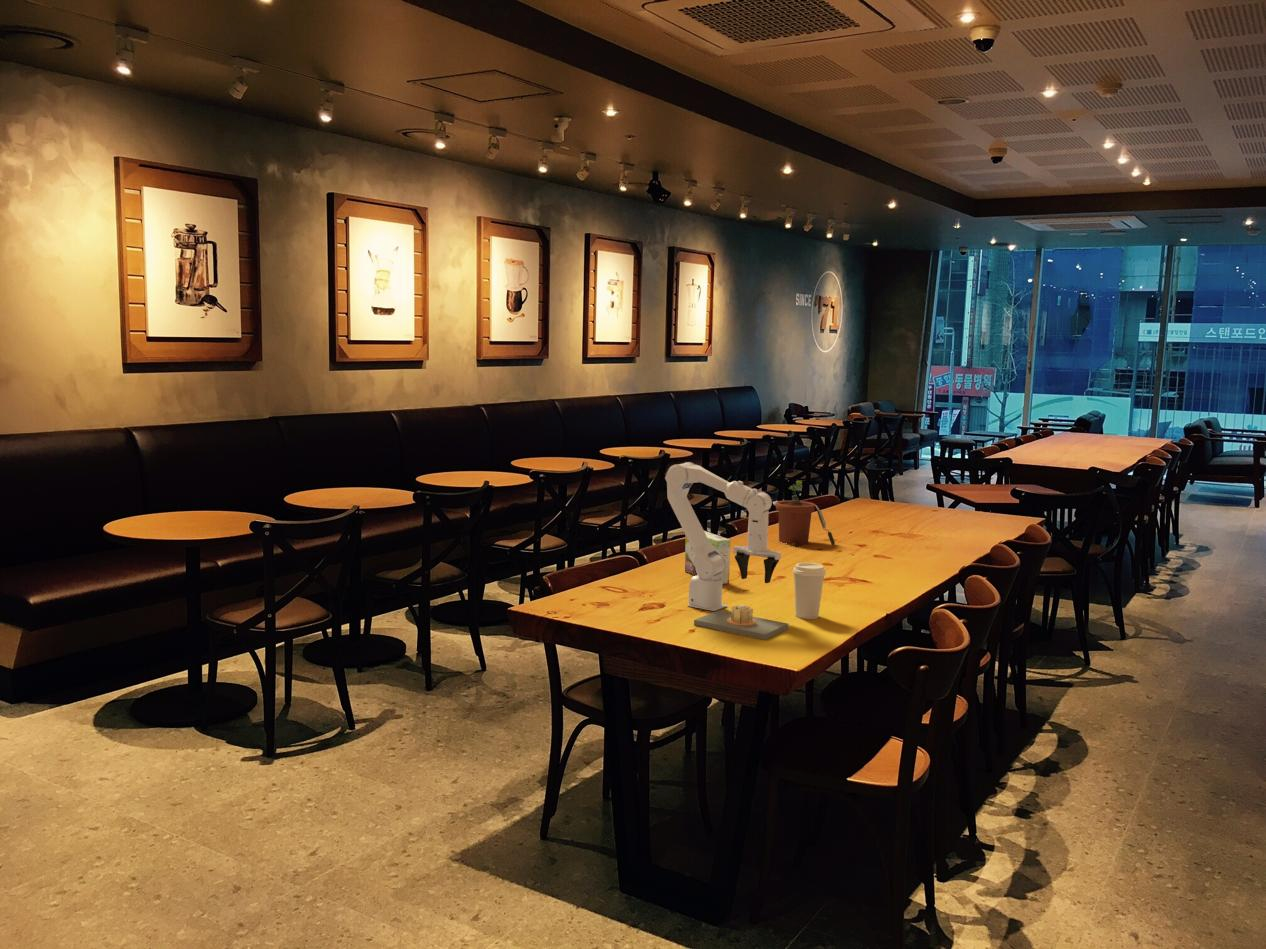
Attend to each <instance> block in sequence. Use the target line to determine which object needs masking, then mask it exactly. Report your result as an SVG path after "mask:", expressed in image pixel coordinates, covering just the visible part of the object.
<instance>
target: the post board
mask: <svg viewBox="0 0 1266 949" xmlns="http://www.w3.org/2000/svg"><path fill="white" fill-rule="evenodd" d="M738 606H739V610H745V606H746V605H743V604H739V605H738ZM693 625H694V626H696V627H701V628H706V629H711V630H716V631H720V632H725V633H730V634H735V635H739V636H744V637H749V638H754V639H759V640H763V641H765V640H767V639H769V638H772V637H773V636H776V635H779V634H780V633H783V632H785V631H787V630H789V623H786V622H783V621H778V620H772V619H768V618H761V617H756V616H753V619H752V622H751V623H748V624H741V623H740V624H739V623H734V622H732V621H731V611H728V610H721V609H719V610H716V611H712V612H711V613H709V614H705V615H703V616H701V617H698V618H695V619H694V620H693Z"/></svg>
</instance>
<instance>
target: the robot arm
mask: <svg viewBox="0 0 1266 949" xmlns="http://www.w3.org/2000/svg"><path fill="white" fill-rule="evenodd" d="M664 479H665V481H666V488H667V489H666V492H667V493H666V494H667V500H668V503H669V504H670V506H671V509H672V510H673V513H674V515H675V516H676V518H677V520H678V522H679V524H680V526H681V528H682V530H683V532H684V534H685V535H686V536H687V538H688V540H689V542H690V544H691V546H692V548H693V550H694V555H693V560H694V562H695V568H696V572H697V574H698V575H695V576H694V575H692V577H691V578H690V582H689V586H688V587H689V590H688V603H687V607H692V608H696V609H702V610H707V611H711V612H716V611H718V610H721V609H723V608H726V607H728V604H725V603H722V602H723V601H722V600H723V584H722V582H723V576H722V572H723V571H724V570H725V568H726V560H725V558H724V557H723V556H722V555H721V554H720V553H719V552H718V551H717V549H716V547H714V546H713V545H712V544H710V542H709V540H708V538H707V536H706V534H705V532H704V531H705V530H704V528H703V526H702V524H701V523H700V520H699V519H698V516H697V515H696V513H695V510H694V509H693V507H692V505H691V503H690V501H689V499H688V494H689V491H690V488H691V487H692V486H693V484H694V483H696V484H697V483H701V484H704V485H706V486H708V487H711V488H713V489H715V490H717V491H720V492H723V493H724V495H725V497H726V499H728V500H729V501H730V502H733V503H735V504H737V505H739V506H742V507H744V508H746V511H747V512H748V524H747V541H746V542H747V544H746V546H742V545H735V546H733V549H732V551H733V554H735V555H734V559H735V561H736V563H737V566H738V568H739V572H740V578H741V580H745V579H747V578H748V566H749V562H750V557H751V556H752V557H753V556H755V557H761V558H764V559H763V564H764V566H763V567H764V583H765V584H769V583H771V579H772V576H773V573H774V571H775V568H776V566H777V565H778V563H779V562H780V560H781V559H782V552H780V551H775V550H772V549H768V538H769V537H768V536H769V513H770V512H769V510H770V509H771V507H772V505H773V504H772V503H773V499H772V497H771V496H770V495H769V494H768V493H766V491H760V492H758V489H757V488H752V487H749V486H748V485H744V482H743V481H741V480H738V481H736V480H733V481H731V482H730V481H727V480H725V479H724V478H722V477H720V476H718V475H716V474H715V473H713V472H711V471H709V470H707V469H705V468H704V467H702V466H701V465H698V464H695V463H694V462H691V461H688V462H687V461H685V462H684V463H679V464H673V465H671V466H670V467H669V468H668V469H667V472H666V474H665V477H664Z"/></svg>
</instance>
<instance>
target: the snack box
mask: <svg viewBox="0 0 1266 949" xmlns="http://www.w3.org/2000/svg"><path fill="white" fill-rule="evenodd" d="M704 532H705V534H706V536H707V538H708V540H709V542H710V544H712V545H713V546H714V547H716V549H717V551H718V552H719V553H720V554H721V555H722V556H723V557H724V558H725V560H726V568H725V570H724V571H723V572H722V576H723V582H722V585H729V584H730V564H731V563H730V562H731V560H730V558H731V539H729V538H727V537H723V536H721V535H717V534H714V533H712V532H709V531H706V530H704ZM684 537H685V539H684V540H685V541H684V542H685V546H684V547H685V550H684V551H685V552H684V554H685V555H684V557H685V558H684V572H685V573H687V572H688V574H690V575H692V576H694V575H698V574H697V572H696V568H695V562H694V560H693V555H694V550H693V548H692V546H691V544H690V542H689V540H688V538H687V536H686V534H685V536H684Z"/></svg>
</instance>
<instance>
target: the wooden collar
mask: <svg viewBox="0 0 1266 949" xmlns="http://www.w3.org/2000/svg"><path fill="white" fill-rule="evenodd" d="M753 611H754V608H753V607H751V606H746V605H745V610H739V605H733V606H731V609H730V612H731V621H732V622H734V623H739V624H740V623H741V624H748V623H751V622H752V619H753V617H754V615H753V614H754V612H753Z"/></svg>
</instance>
